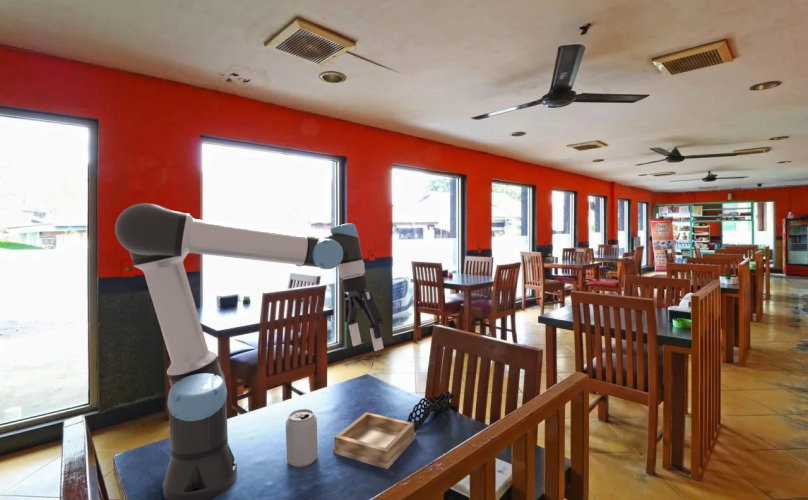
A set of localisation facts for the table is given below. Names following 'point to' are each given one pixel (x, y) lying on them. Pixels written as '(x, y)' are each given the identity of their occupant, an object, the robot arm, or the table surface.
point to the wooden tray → (375, 439)
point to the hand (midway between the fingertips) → (367, 347)
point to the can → (301, 438)
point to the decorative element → (430, 407)
